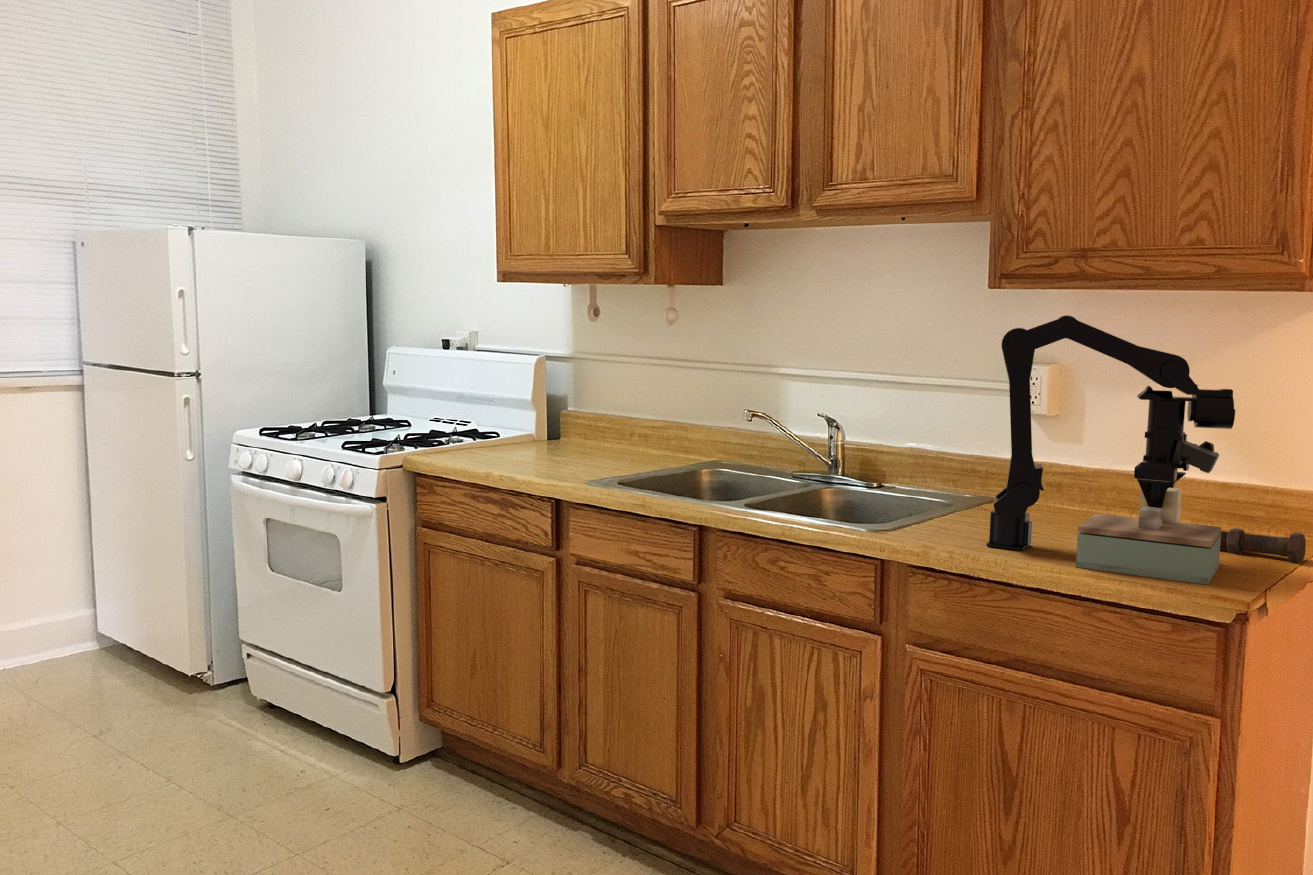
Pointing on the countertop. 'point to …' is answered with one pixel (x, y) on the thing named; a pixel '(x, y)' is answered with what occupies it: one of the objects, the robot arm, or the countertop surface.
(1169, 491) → the block
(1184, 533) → the lid
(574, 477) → the countertop surface
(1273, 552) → the bolt
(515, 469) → the countertop surface
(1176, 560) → the grey tray
